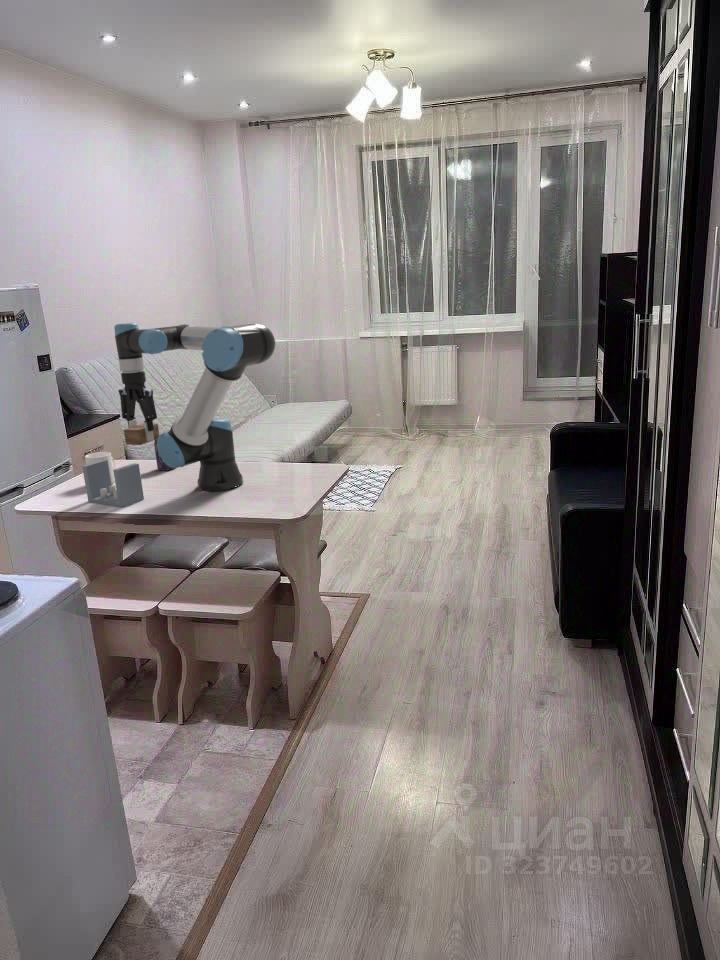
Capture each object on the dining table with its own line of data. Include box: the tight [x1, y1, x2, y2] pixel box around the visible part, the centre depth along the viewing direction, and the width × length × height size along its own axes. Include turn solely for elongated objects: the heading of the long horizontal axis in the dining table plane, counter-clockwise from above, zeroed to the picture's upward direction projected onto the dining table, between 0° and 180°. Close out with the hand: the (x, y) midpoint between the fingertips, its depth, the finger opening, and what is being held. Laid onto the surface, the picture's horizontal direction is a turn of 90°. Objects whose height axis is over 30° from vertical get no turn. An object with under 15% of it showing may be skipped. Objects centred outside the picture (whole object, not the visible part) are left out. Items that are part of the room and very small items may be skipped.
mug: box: [84, 451, 116, 485], centre depth 255 cm, size 9×12×11 cm
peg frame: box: [81, 460, 145, 508], centre depth 232 cm, size 17×8×12 cm, turn 58°
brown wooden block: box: [123, 422, 160, 446], centre depth 240 cm, size 10×6×5 cm, turn 157°
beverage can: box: [153, 439, 175, 471], centre depth 268 cm, size 7×7×12 cm
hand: (142, 439), depth 241 cm, fingers closed on brown wooden block, 6 cm apart
